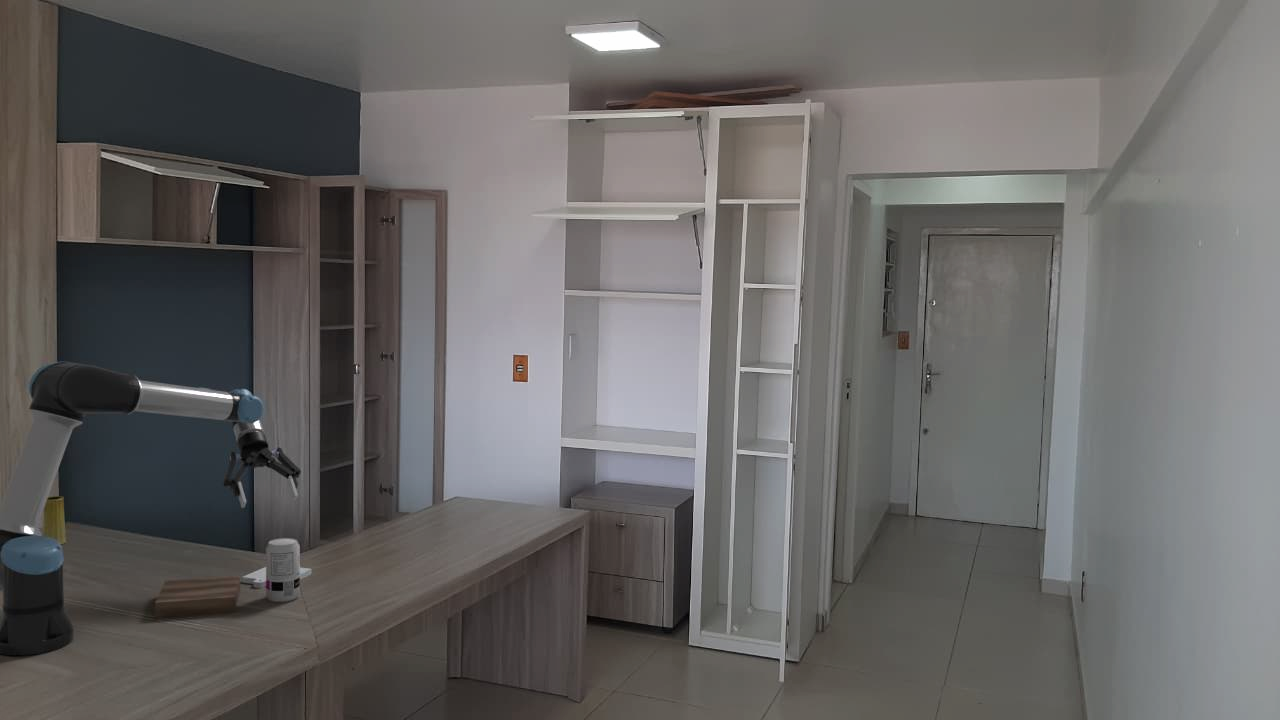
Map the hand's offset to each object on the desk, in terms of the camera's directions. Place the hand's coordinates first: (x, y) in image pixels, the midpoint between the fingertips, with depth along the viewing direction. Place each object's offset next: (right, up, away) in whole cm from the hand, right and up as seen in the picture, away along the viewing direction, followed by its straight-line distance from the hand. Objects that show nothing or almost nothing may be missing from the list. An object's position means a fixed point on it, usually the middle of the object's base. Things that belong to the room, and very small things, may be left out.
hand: (270, 501), depth 262 cm
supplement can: (+6, -24, -7) cm, 26 cm away
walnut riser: (-13, -24, -13) cm, 30 cm away
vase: (-81, -19, +38) cm, 91 cm away
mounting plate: (-2, -23, +10) cm, 25 cm away
